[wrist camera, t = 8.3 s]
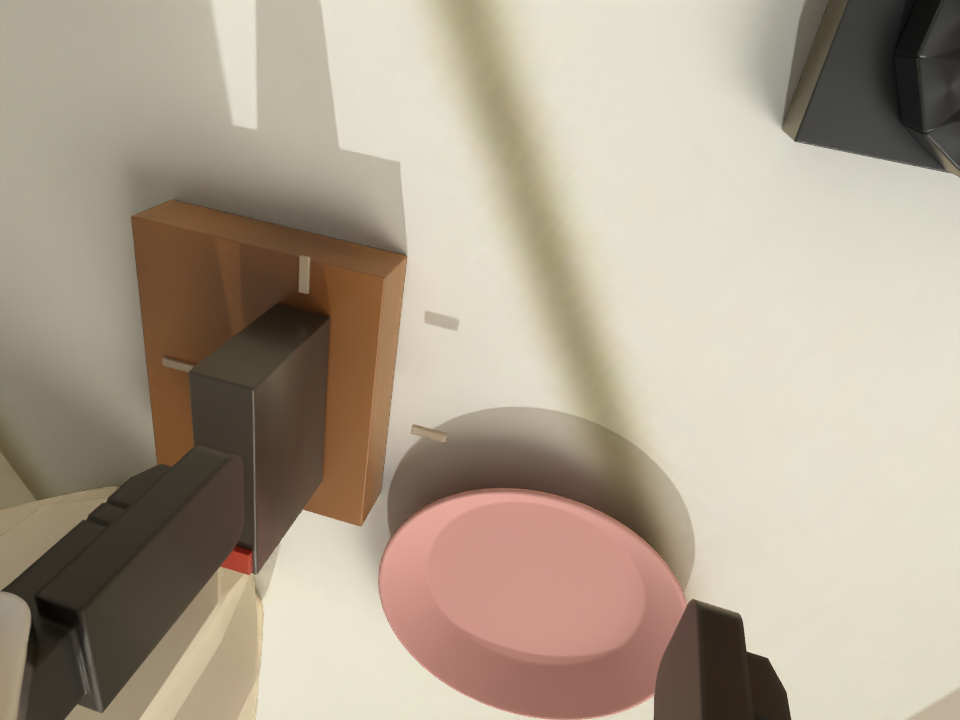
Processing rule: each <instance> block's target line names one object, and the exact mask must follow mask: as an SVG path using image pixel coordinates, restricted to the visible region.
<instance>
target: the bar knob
mask: <svg viewBox="0 0 960 720" xmlns="http://www.w3.org/2000/svg"><path fill="white" fill-rule="evenodd" d="M329 330H330V317H329V316H325V315H321V314H317V313H313V312H309V311H305V310H301V309H297V308H293V307H289V306H286V305H282V304H275V305H273V306H272V307H271V308H270V309H268V310H267V311H266V312H264V313H263V314H262V315H261V316H259V317H258V318H257V319H255V320H254V321H253V322H252V323H250V324H249V325H248V326H246V327H245V328H244V329H243V330H241V331H240V332H239V333H237V334H236V335H235V336H234V337H232V338H231V339H230V340H228V341H227V342H226V343H225V344H223V345H222V346H221V347H219V348H218V349H217V350H216V351H214V352H213V353H212V354H210V355H209V356H208V357H207V358H205V359H204V360H203V361H201V362H200V363H199V364H198V365H196V366H195V367H194V368H192V369H191V370H190V371H189V373H188V374H189V388H190V401H191V415H192V428H193V442H194V447H195V446H197V445H205V446H208V447H212V448H215V449H218V450H221V451H224V452H228V453H231V454H234V455H237V456H240V457H241V458H242V460H243V464H244V509H245V519H244V526H243V529H242V533H241V535H240V538H239V540H238V542H237V544H236V546H235V548H234V549H233V551H232V552H231V554H230V555H229V556H228V557H227V559H226V560H225V561H224V562H223V564H222V565H221V566H220V567H224V568H227V569H230V570H233V571H237V572H240V573H243V574H246V575H250V574H251V573H252V574H258V572H259V571H260V570H261V568H262V567H263V565H264V564H265V562H266V561H267V560H268V558H269V557H270V555H271V554H272V552H273V551H274V550H275V548H276V547H277V545H278V544H279V542H280V541H281V540H282V538H283V537H284V535H285V534H286V532H287V531H288V530H289V528H290V527H291V525H292V524H293V523H294V521H295V520H296V518H297V517H298V515H299V514H300V513H301V511H302V510H303V508H304V507H305V505H306V504H307V503H308V501H309V500H310V498H311V497H312V495H313V494H314V493H315V491H316V490H317V488H318V487H319V485H320V484H321V483H322V476H323V455H324V434H325V413H326V392H327V371H328V350H329Z"/></svg>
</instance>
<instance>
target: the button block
mask: <svg viewBox="0 0 960 720" xmlns="http://www.w3.org/2000/svg"><path fill="white" fill-rule="evenodd" d="M782 130H783V131H784V132H785V133H786V134H787V135H789V136H790V137H791V138H792V139H793V140H794V141H795V142H799V143H804V144H809V145H814V146H819V147H824V148H829V149H834V150H839V151H844V152H849V153H854V154H859V155H863V156H868V157H873V158H878V159H883V160H888V161H893V162H898V163H903V164H908V165H913V166H918V167H923V168H928V169H933V170H937V171H942V172H947V173H952V174H955V175H957V176H958V177H960V0H829V3H828V5H827V8H826V11H825V13H824V16H823V19H822V21H821V24H820V27H819V30H818V32H817V35H816V38H815V40H814V43H813V46H812V48H811V51H810V54H809V56H808V59H807V62H806V65H805V67H804V70H803V73H802V75H801V78H800V81H799V83H798V86H797V89H796V92H795V94H794V97H793V100H792V102H791V105H790V108H789V110H788V113H787V116H786V118H785V121H784V124H783V127H782Z"/></svg>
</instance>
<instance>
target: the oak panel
mask: <svg viewBox="0 0 960 720" xmlns="http://www.w3.org/2000/svg"><path fill="white" fill-rule="evenodd" d="M131 220H132V230H133V239H134V249H135V258H136V267H137V277H138V286H139V296H140V305H141V315H142V324H143V334H144V343H145V353H146V362H147V372H148V381H149V391H150V400H151V409H152V419H153V428H154V438H155V447H156V457H157V465H159V464H161V463H162V464H165V465H168V466H171V467H172V466H173V465H174V464H175V463H177V462H178V461H179V460H180V459H181V458H182V457H183V456H184V455H185V454H186V453H187V452H188V451H189V450H191V449H192V448H193V447H194V442H193V428H192V415H191V401H190V388H189V374H188V373H189V371H190V370H191V369H192V368H194V367H195V366H196V365H198V364H199V363H200V362H201V361H203V360H204V359H205V358H207V357H208V356H209V355H210V354H212V353H213V352H214V351H216V350H217V349H218V348H219V347H221V346H222V345H223V344H225V343H226V342H227V341H228V340H230V339H231V338H232V337H234V336H235V335H236V334H237V333H239V332H240V331H241V330H243V329H244V328H245V327H246V326H248V325H249V324H250V323H252V322H253V321H254V320H255V319H257V318H258V317H259V316H261V315H262V314H263V313H264V312H266V311H267V310H268V309H270V308H271V307H272V306H273V305H275V304H282V305H286V306H289V307H293V308H297V309H301V310H305V311H309V312H313V313H317V314H321V315H325V316H329V317H330V330H329V350H328V371H327V392H326V413H325V434H324V455H323V476H322V483H321V484H320V485H319V487H318V488H317V490H316V491H315V493H314V494H313V495H312V497H311V498H310V500H309V501H308V503H307V504H306V505H305V507H304V508H303V510H306V511H310V512H313V513H317V514H320V515H323V516H327V517H330V518H334V519H337V520H340V521H344V522H347V523H351V524H354V525H357V526H362V525H363V523H364V521H365V519H366V518H367V516H368V514H369V512H370V511H371V509H372V507H373V505H374V503H375V502H376V500H377V498H378V496H379V495H380V493H381V488H382V479H383V470H384V461H385V452H386V443H387V434H388V425H389V416H390V407H391V398H392V389H393V380H394V371H395V362H396V353H397V344H398V335H399V326H400V317H401V308H402V299H403V290H404V281H405V272H406V263H407V256H405V255H401V254H397V253H393V252H389V251H384V250H380V249H376V248H372V247H368V246H364V245H359V244H355V243H351V242H347V241H343V240H339V239H334V238H330V237H326V236H322V235H318V234H314V233H309V232H305V231H301V230H297V229H293V228H289V227H284V226H280V225H276V224H272V223H268V222H264V221H259V220H255V219H251V218H247V217H243V216H239V215H234V214H230V213H226V212H222V211H218V210H214V209H209V208H205V207H201V206H197V205H193V204H188V203H184V202H180V201H176V200H170V201H168V202H165V203H163V204H160V205H158V206H155V207H153V208H150V209H148V210H145V211H143V212H140V213H137V214H135V215H132V216H131ZM411 434H415V435H418V436H422V437H426V438H429V439H433V440H437V441H440V442H444V443H445V442H446V437H447V433H443V432H440V431H436V430H432V429H429V428H425V427H421V426H418V425H414V424H413V426H412V430H411ZM301 512H302V511H301Z"/></svg>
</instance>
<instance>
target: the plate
mask: <svg viewBox="0 0 960 720" xmlns="http://www.w3.org/2000/svg"><path fill="white" fill-rule="evenodd" d="M378 582H379V593H380V599H381V603H382V606H383V610H384V612H385V615H386V617H387V620H388V622H389V624H390V626H391V628H392V629H393V631H394V633H395V634H396V636H397V637H398V639H399V640H400V642H401V643H402V644H403V646H404V647H405V648H406V649H407V651H408V652H409V653H410V654H411V655H412V656H413V657H414V658H415V659H416V660H417V661H418V662H419V663H420V664H421V665H422V666H423V667H424V668H425V669H427V670H428V671H429V672H430V673H431V674H433V675H434V676H435V677H437V678H438V679H439V680H441V681H442V682H444V683H445V684H447V685H448V686H450V687H452V688H453V689H455V690H457V691H458V692H460V693H462V694H464V695H466V696H468V697H470V698H472V699H474V700H476V701H479V702H481V703H483V704H486V705H488V706H491V707H494V708H497V709H500V710H503V711H507V712H510V713H514V714H518V715H523V716H528V717H534V718H541V719H550V720H583V719H592V718H599V717H604V716H609V715H613V714H616V713H619V712H622V711H625V710H628V709H630V708H633V707H635V706H637V705H639V704H641V703H643V702H645V701H646V700H648V699H650V698H651V697H653V696H654V694H655V684H656V678H657V673H658V669H659V665H660V662H661V659H662V657H663V654H664V652H665V650H666V648H667V646H668V644H669V642H670V640H671V638H672V636H673V634H674V631H675V629H676V627H677V625H678V623H679V621H680V619H681V617H682V615H683V613H684V611H685V609H686V607H687V602H686V599H685V596H684V594H683V591H682V589H681V587H680V585H679V583H678V581H677V579H676V577H675V576H674V574H673V573H672V571H671V570H670V568H669V567H668V565H667V564H666V563H665V561H664V560H663V559H662V558H661V557H660V555H659V554H658V553H657V552H656V551H655V550H654V549H653V548H652V547H651V546H650V545H649V544H648V543H647V542H646V541H645V540H643V539H642V538H641V537H640V536H639V535H637V534H636V533H635V532H633V531H632V530H631V529H629V528H628V527H626V526H625V525H623V524H622V523H620V522H619V521H617V520H615V519H614V518H612V517H610V516H609V515H607V514H605V513H603V512H601V511H599V510H597V509H595V508H592V507H590V506H588V505H585V504H583V503H580V502H577V501H575V500H572V499H569V498H565V497H562V496H558V495H554V494H550V493H546V492H541V491H534V490H527V489H517V488H488V489H478V490H471V491H466V492H461V493H457V494H453V495H450V496H447V497H444V498H442V499H439V500H437V501H435V502H432V503H430V504H428V505H427V506H425V507H423V508H421V509H420V510H418V511H417V512H415V513H414V514H413V515H411V516H410V517H409V518H408V519H407V520H405V521H404V522H403V523H402V524H401V525H400V526H399V528H398V529H397V530H396V531H395V532H394V534H393V535H392V537H391V538H390V540H389V542H388V543H387V546H386V548H385V550H384V553H383V555H382V559H381V562H380V567H379V580H378Z"/></svg>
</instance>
